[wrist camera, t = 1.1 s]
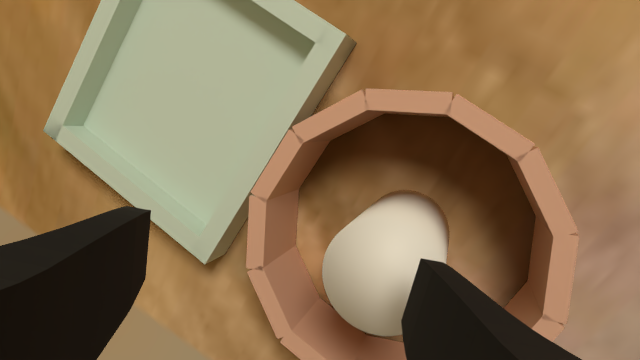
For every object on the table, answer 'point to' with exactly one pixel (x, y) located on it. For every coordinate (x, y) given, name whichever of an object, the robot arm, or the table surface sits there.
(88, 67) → the tray
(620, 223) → the table surface
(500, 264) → the table surface
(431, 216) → the peg
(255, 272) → the segmented salmon ring
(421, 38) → the table surface
